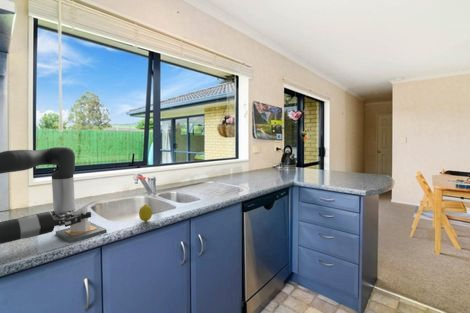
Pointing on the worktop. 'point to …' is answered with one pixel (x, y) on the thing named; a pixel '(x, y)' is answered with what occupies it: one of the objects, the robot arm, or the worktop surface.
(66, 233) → the mounting plate
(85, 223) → the white wedge bracket
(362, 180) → the worktop surface
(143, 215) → the lemon
